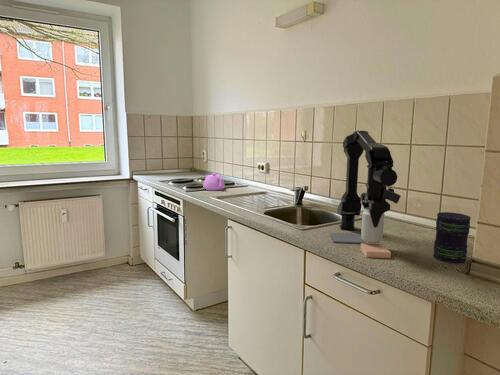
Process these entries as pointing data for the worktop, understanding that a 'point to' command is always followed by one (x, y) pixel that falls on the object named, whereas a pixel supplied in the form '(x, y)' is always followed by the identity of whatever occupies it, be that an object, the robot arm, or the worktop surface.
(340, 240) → the mat
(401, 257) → the worktop surface
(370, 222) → the can
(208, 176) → the teapot
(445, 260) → the storage jar
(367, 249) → the tile
